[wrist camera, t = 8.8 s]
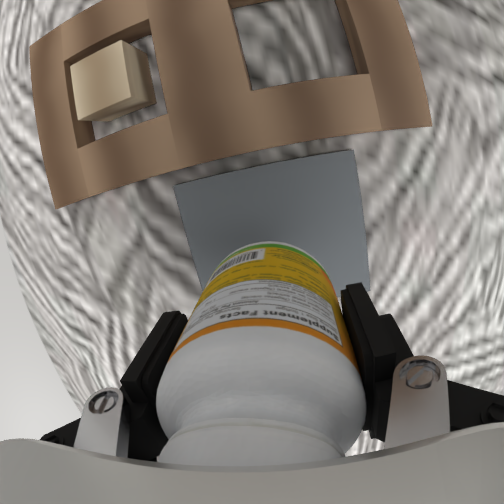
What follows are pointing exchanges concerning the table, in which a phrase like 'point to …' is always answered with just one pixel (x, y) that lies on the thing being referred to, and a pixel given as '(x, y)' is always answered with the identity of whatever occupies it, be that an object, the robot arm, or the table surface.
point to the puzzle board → (213, 91)
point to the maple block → (112, 83)
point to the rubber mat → (280, 214)
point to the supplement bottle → (262, 367)
